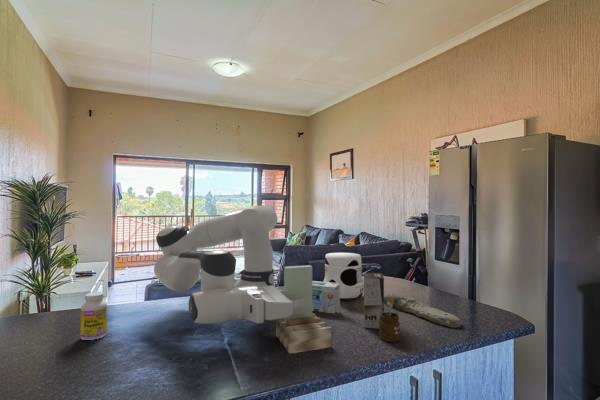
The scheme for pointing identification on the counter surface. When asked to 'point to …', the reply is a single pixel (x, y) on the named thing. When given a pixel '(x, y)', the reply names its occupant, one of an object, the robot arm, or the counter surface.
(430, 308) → the elongated rock
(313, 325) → the oak offcut
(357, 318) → the counter surface
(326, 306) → the light bulb box
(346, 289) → the spotted cookie jar
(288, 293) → the tall panel
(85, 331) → the supplement bottle
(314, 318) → the walnut offcut
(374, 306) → the coffee box
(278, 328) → the birch rack
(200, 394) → the counter surface
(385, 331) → the utensil holder
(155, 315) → the counter surface
